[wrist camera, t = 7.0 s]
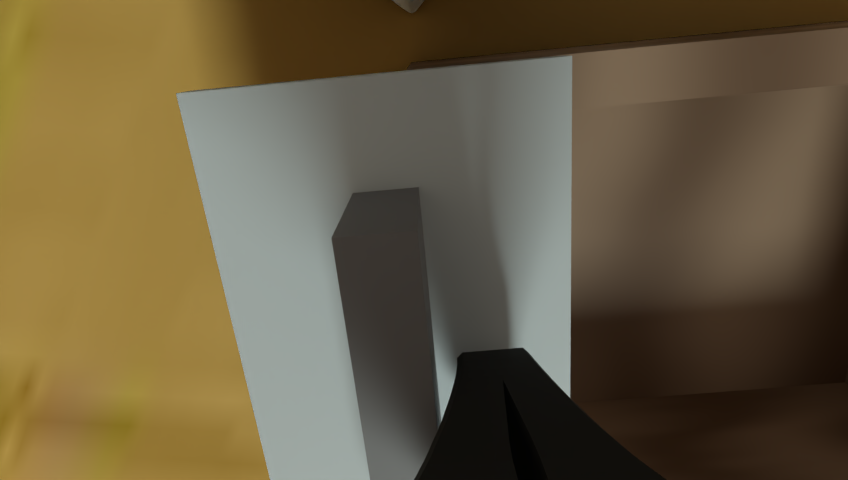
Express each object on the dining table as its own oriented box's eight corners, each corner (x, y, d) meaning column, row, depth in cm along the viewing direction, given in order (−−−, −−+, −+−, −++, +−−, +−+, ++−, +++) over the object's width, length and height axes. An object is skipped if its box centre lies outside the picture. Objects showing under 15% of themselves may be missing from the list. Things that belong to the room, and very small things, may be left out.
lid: (563, 55, 9) (624, 59, 6) (562, 552, 13) (600, 686, 11) (190, 90, 10) (93, 109, 7) (302, 569, 14) (271, 706, 11)
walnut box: (936, 12, 14) (1197, -6, 9) (851, 390, 18) (1002, 511, 13) (411, 62, 14) (406, 69, 10) (445, 421, 18) (453, 549, 14)
